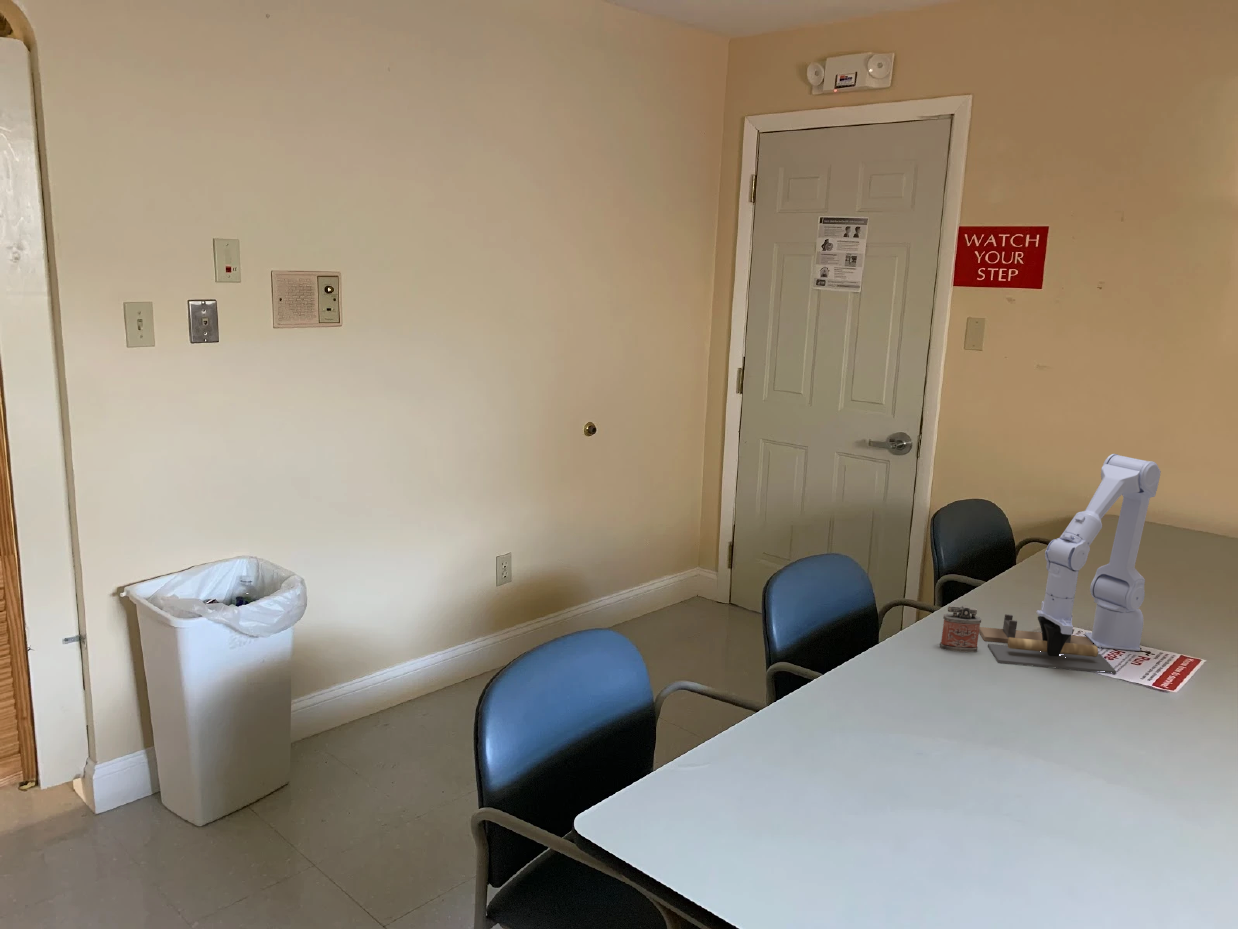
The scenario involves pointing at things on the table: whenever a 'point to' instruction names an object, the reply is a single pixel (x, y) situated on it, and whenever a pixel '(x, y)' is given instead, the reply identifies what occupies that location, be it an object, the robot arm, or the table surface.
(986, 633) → the hook stand
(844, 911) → the table surface
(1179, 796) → the table surface
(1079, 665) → the mat
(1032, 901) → the table surface
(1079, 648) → the rail
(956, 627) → the lighter
